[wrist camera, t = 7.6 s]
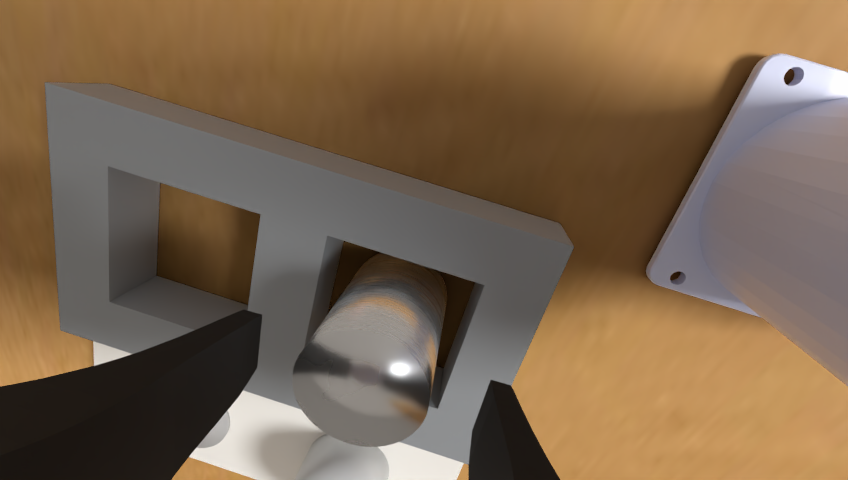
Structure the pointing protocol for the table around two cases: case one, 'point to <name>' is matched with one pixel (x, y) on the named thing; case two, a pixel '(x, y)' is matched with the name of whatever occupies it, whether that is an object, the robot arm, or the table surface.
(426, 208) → the grey square hole plate
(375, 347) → the pin
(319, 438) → the white peg base plate
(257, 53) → the table surface
